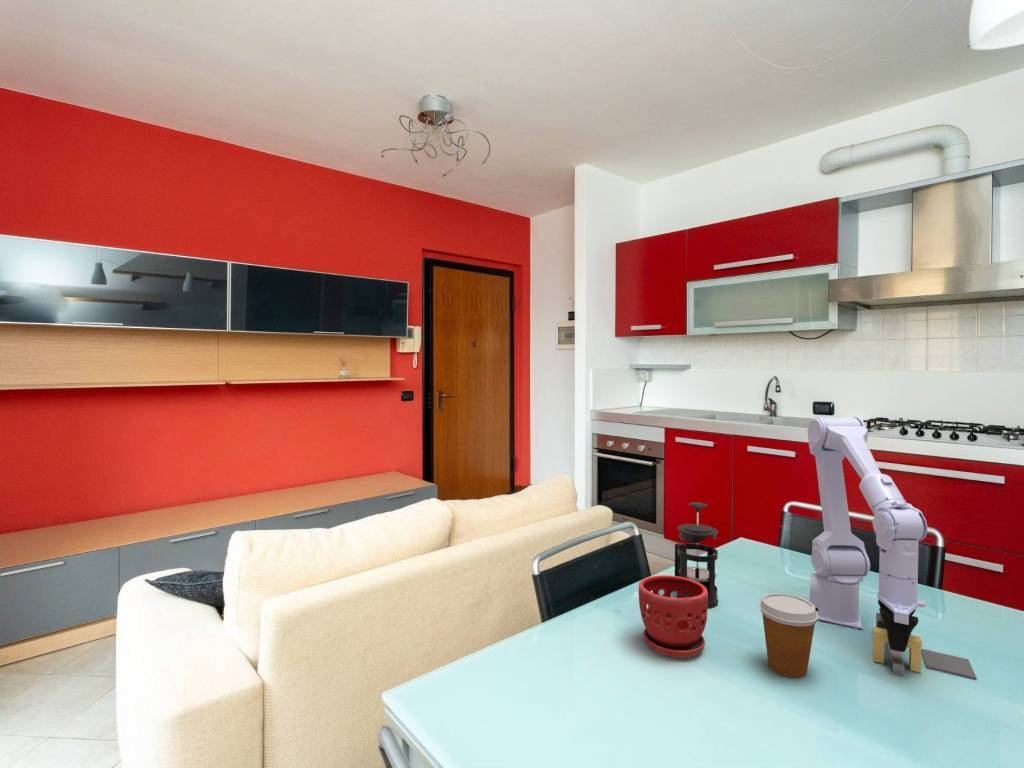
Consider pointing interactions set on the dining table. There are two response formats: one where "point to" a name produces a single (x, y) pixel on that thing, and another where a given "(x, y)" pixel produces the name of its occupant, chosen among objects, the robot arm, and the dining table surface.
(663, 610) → the plant pot
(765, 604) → the disposable coffee cup
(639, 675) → the dining table surface
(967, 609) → the dining table surface
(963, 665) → the rubber mat
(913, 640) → the yellow pull handle
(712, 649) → the dining table surface
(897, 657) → the grey block with bar
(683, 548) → the french press
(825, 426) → the robot arm
